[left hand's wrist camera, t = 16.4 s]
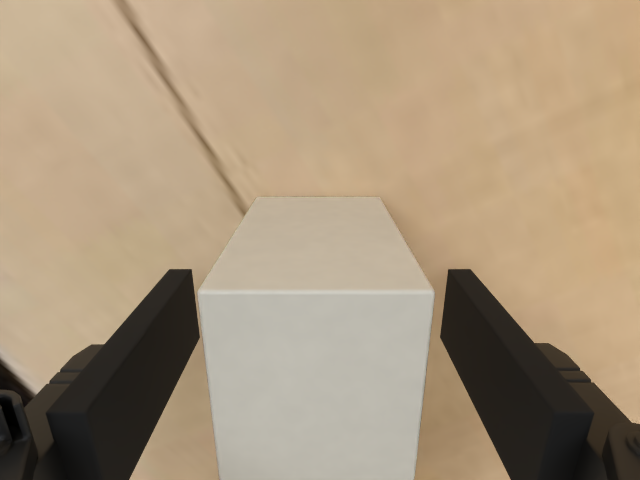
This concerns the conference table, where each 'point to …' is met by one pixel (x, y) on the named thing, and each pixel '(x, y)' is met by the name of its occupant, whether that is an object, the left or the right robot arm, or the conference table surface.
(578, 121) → the conference table surface
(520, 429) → the left robot arm
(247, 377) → the brick
